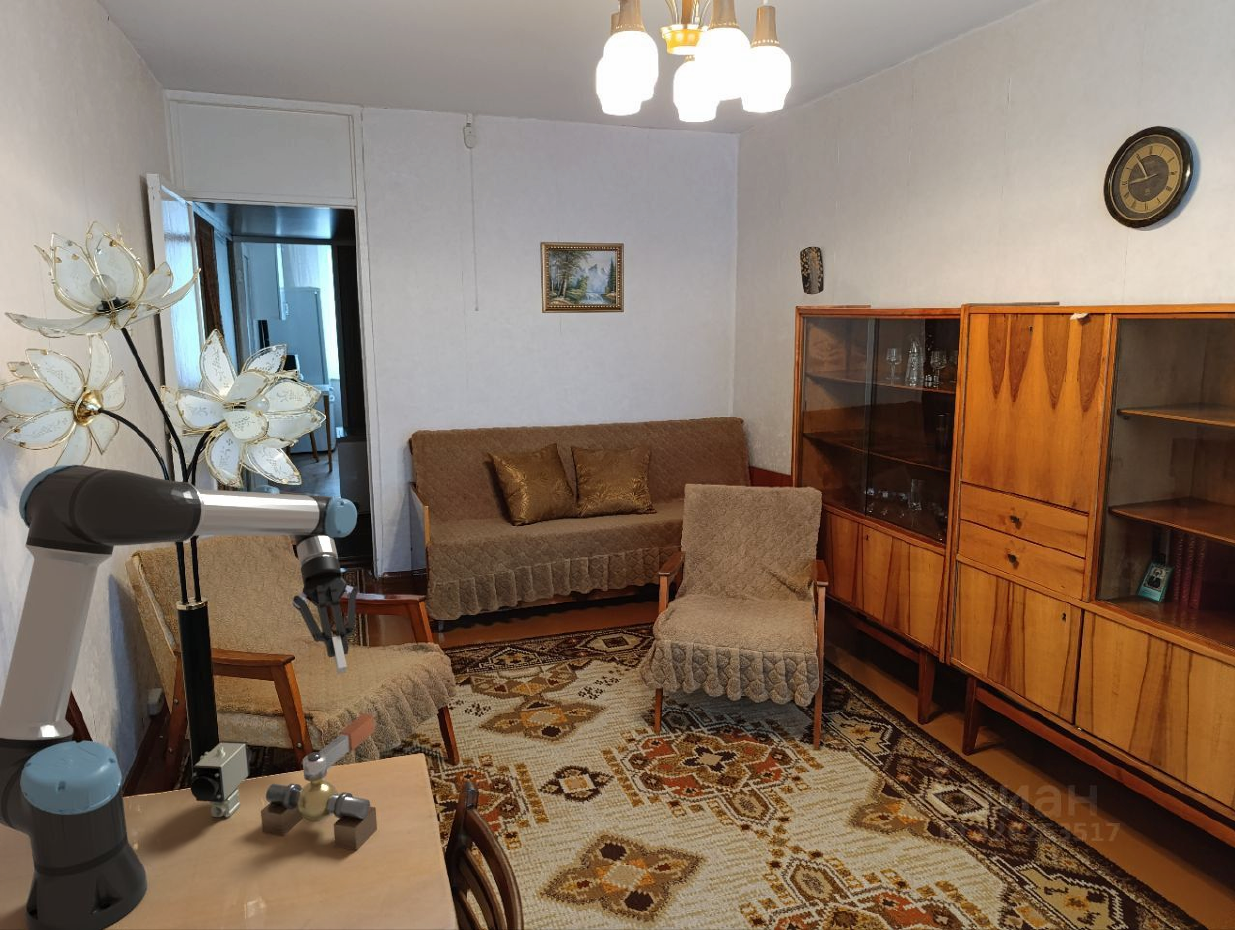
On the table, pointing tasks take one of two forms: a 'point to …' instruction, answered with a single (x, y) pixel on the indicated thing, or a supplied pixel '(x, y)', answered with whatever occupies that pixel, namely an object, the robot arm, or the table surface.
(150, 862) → the table surface
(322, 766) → the valve lever
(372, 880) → the table surface
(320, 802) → the valve stand
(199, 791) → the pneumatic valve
